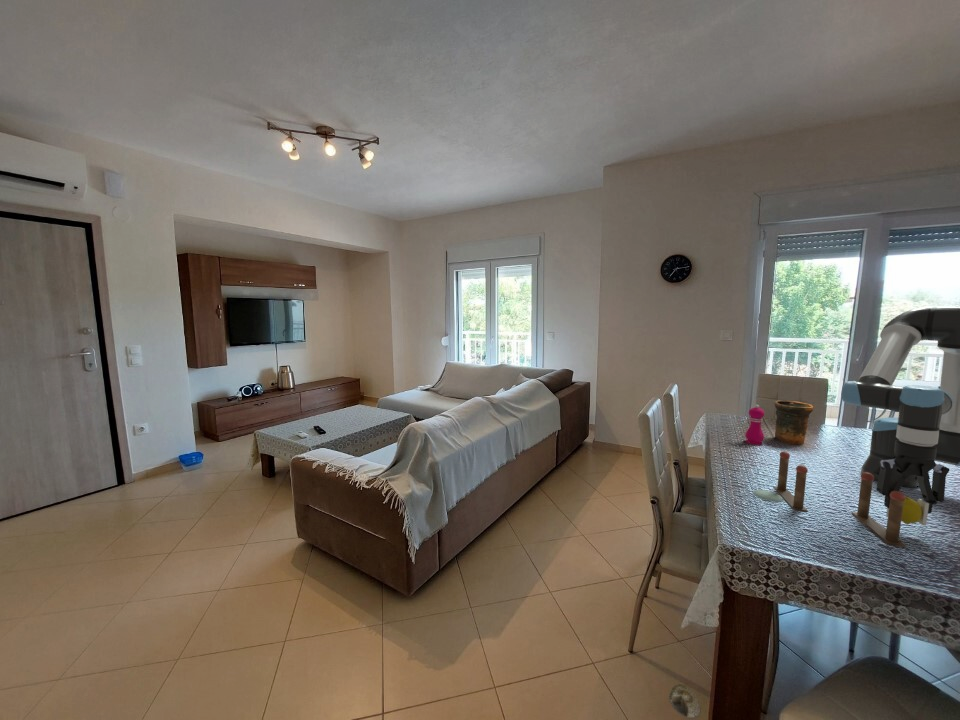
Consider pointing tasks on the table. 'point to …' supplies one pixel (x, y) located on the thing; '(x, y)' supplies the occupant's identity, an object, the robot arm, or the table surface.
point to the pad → (768, 495)
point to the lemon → (911, 511)
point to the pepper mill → (755, 426)
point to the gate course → (862, 515)
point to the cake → (685, 701)
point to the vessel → (792, 421)
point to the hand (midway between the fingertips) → (905, 520)
